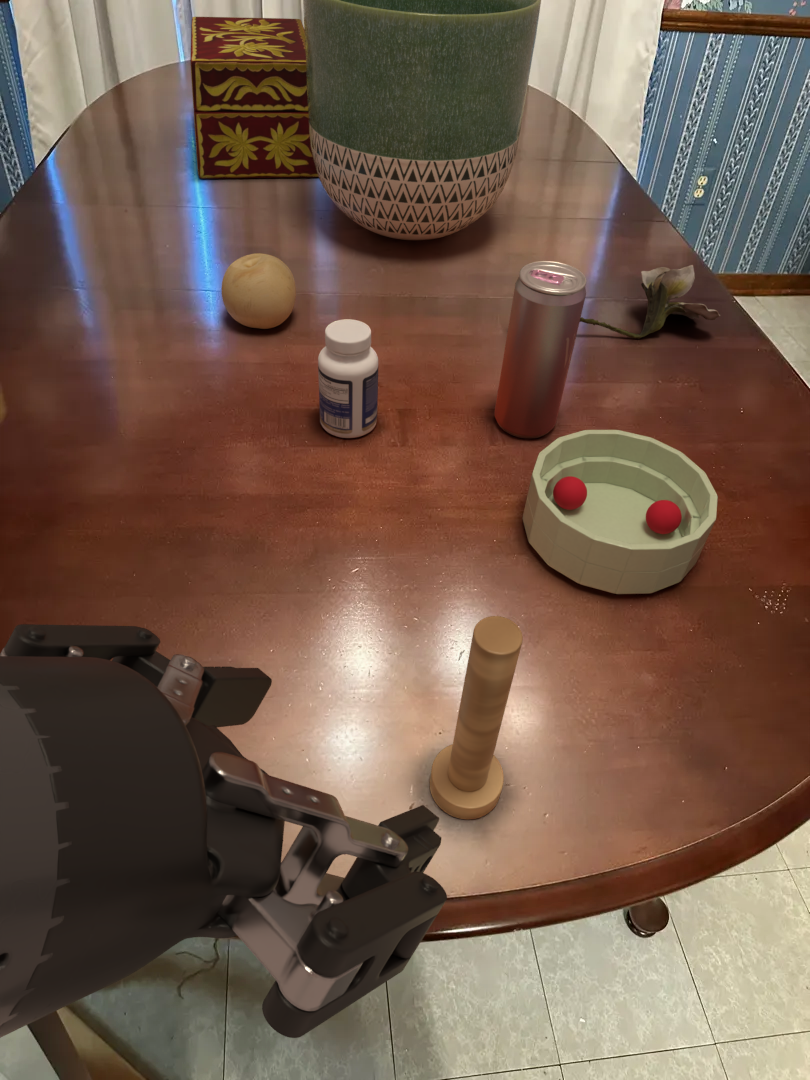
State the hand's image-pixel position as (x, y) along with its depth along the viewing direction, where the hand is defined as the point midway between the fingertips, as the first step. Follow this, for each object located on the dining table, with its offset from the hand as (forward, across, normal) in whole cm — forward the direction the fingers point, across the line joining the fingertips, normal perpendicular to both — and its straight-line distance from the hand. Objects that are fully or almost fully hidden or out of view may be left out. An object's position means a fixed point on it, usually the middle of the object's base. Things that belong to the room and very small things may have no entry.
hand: (332, 760), depth 29 cm
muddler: (+21, 0, +5) cm, 21 cm away
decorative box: (+67, +92, -41) cm, 121 cm away
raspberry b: (+40, +2, -17) cm, 43 cm away
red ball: (+38, +9, -15) cm, 42 cm away
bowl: (+39, +5, -14) cm, 42 cm away
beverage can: (+45, +19, -19) cm, 52 cm away
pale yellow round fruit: (+41, +51, -16) cm, 68 cm away
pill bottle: (+36, +31, -11) cm, 49 cm away
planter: (+63, +56, -38) cm, 93 cm away
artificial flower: (+60, +22, -35) cm, 73 cm away
